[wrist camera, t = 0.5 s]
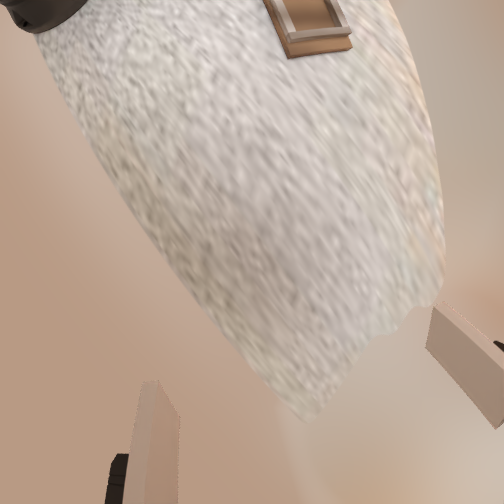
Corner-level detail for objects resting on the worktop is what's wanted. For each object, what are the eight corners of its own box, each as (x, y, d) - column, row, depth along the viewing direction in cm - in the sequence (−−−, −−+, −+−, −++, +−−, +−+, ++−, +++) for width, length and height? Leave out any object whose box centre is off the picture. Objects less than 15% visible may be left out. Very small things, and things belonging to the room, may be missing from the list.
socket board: (257, -11, 26) (261, -21, 23) (317, -16, 26) (324, -26, 23) (287, 58, 30) (294, 51, 27) (348, 50, 30) (358, 44, 27)
